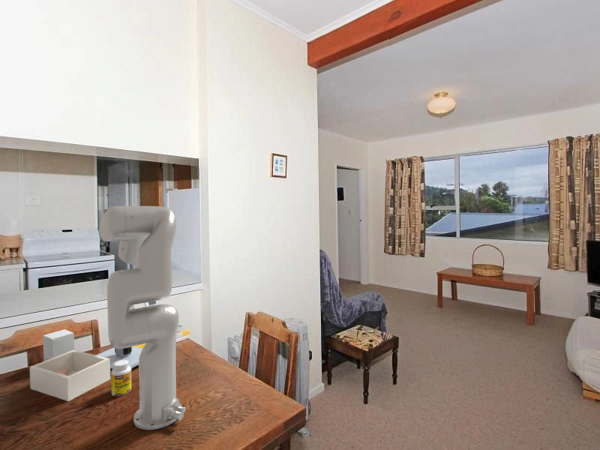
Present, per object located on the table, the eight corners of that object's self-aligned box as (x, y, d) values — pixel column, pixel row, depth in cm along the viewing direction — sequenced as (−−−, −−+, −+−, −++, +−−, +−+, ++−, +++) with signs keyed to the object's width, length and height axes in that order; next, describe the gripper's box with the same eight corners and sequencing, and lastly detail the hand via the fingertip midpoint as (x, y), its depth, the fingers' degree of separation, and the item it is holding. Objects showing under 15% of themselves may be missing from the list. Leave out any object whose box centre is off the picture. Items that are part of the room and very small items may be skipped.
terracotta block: (68, 381, 111) (68, 369, 111) (59, 387, 107) (59, 375, 107) (56, 381, 111) (56, 369, 111) (47, 387, 107) (47, 375, 107)
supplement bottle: (112, 401, 101) (111, 368, 101) (110, 392, 106) (110, 361, 106) (132, 395, 104) (132, 363, 104) (130, 387, 109) (129, 357, 109)
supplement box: (75, 366, 124) (74, 332, 123) (52, 374, 117) (51, 339, 117) (66, 361, 127) (65, 328, 127) (43, 369, 121) (42, 334, 121)
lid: (158, 354, 129) (158, 336, 128) (124, 371, 115) (124, 351, 114) (122, 346, 136) (121, 329, 135) (86, 361, 122) (86, 343, 122)
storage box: (110, 381, 113) (110, 358, 112) (68, 404, 100) (67, 378, 99) (74, 371, 119) (73, 349, 119) (30, 391, 106) (29, 367, 106)
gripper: (147, 304, 125) (148, 352, 126) (115, 299, 131) (116, 345, 132) (130, 309, 118) (131, 360, 119) (97, 304, 124) (98, 352, 125)
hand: (123, 352), depth 125 cm, fingers closed on lid, 3 cm apart
